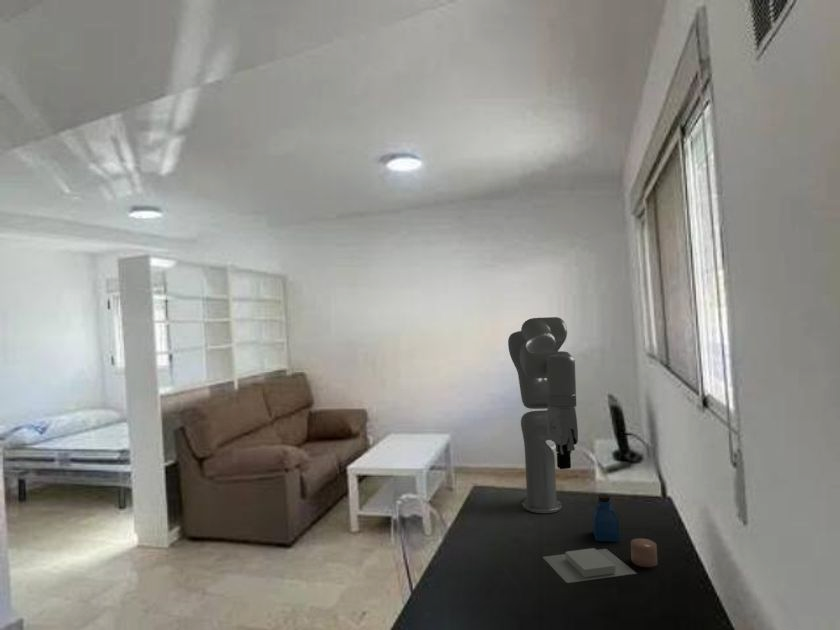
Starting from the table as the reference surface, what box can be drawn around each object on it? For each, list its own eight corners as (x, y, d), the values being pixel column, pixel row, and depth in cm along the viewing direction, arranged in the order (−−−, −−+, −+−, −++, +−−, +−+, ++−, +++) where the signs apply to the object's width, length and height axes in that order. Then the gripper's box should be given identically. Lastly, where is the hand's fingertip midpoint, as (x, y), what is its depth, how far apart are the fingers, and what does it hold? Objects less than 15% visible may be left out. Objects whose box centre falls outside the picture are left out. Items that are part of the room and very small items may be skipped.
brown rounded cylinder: (629, 557, 135) (628, 538, 134) (653, 557, 134) (652, 538, 133) (634, 569, 129) (633, 549, 128) (660, 570, 128) (659, 550, 127)
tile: (565, 551, 134) (584, 569, 124) (594, 548, 135) (615, 565, 125) (565, 559, 134) (584, 578, 124) (594, 555, 135) (615, 574, 125)
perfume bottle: (619, 544, 143) (617, 500, 143) (596, 543, 144) (594, 499, 144) (615, 534, 149) (614, 492, 149) (593, 533, 150) (591, 492, 150)
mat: (542, 559, 136) (542, 556, 136) (606, 550, 139) (606, 548, 139) (566, 585, 122) (566, 583, 122) (637, 575, 125) (637, 573, 125)
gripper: (537, 396, 148) (539, 461, 149) (561, 406, 134) (563, 478, 134) (562, 394, 150) (564, 458, 150) (588, 404, 135) (590, 475, 135)
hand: (564, 467), depth 142 cm, fingers closed
